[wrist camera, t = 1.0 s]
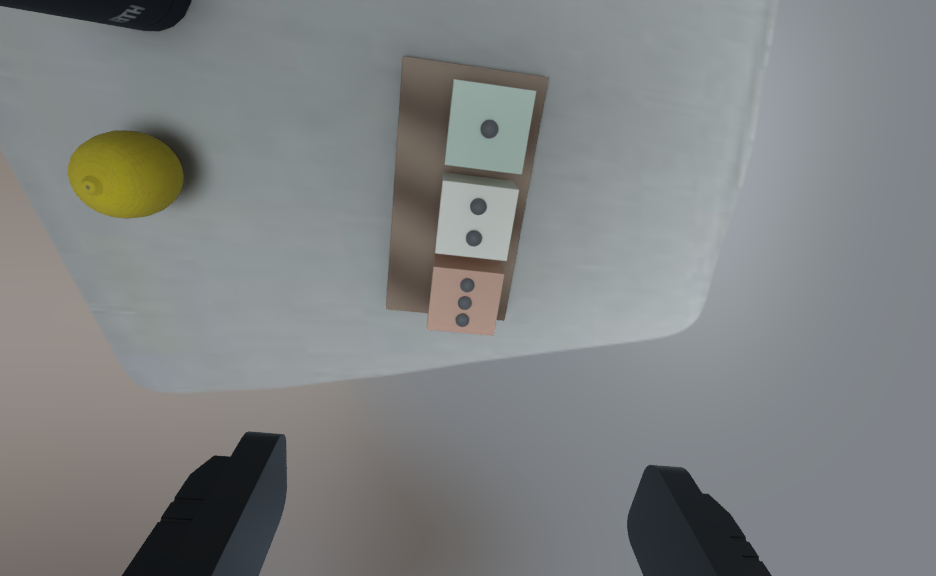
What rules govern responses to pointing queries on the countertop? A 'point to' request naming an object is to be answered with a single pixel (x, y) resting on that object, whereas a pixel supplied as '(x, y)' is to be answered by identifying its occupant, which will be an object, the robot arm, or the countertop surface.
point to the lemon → (125, 174)
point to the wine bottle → (111, 11)
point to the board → (441, 174)
